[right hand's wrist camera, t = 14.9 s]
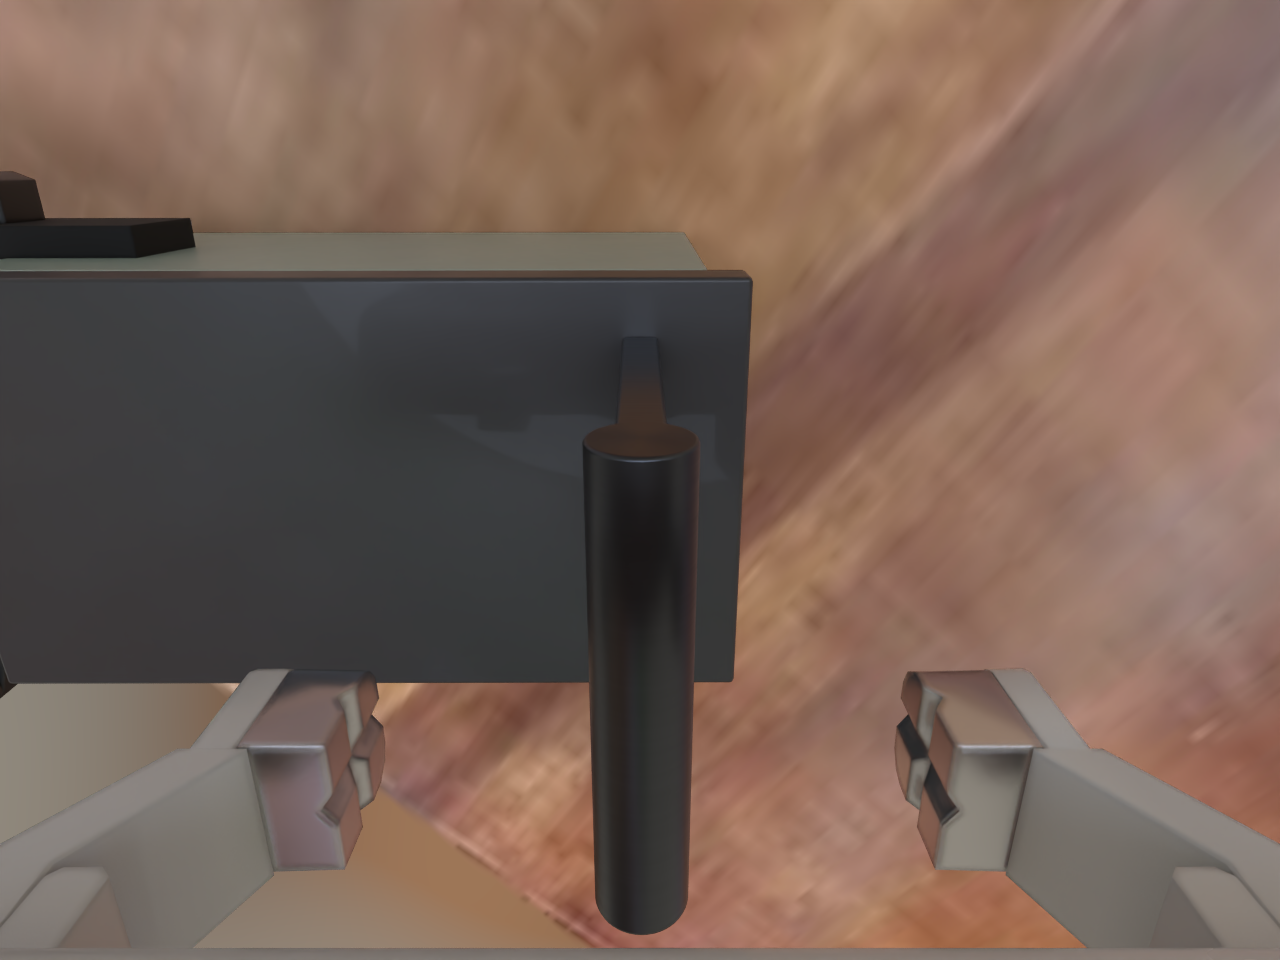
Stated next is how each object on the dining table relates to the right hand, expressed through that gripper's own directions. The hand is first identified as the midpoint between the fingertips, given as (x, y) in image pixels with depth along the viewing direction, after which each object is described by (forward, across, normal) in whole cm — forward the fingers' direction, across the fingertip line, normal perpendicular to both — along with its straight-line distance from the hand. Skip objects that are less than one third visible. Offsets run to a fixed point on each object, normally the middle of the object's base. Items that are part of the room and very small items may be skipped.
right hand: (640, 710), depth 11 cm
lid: (+8, +6, 0) cm, 11 cm away
